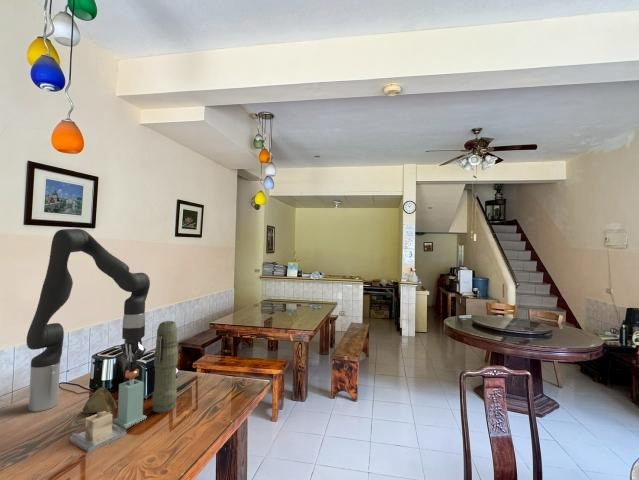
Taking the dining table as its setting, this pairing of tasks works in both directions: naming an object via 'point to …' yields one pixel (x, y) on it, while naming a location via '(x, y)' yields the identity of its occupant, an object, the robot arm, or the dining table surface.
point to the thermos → (165, 368)
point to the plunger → (131, 376)
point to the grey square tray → (94, 444)
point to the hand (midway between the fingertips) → (132, 370)
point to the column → (130, 404)
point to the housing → (98, 425)
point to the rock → (100, 402)
